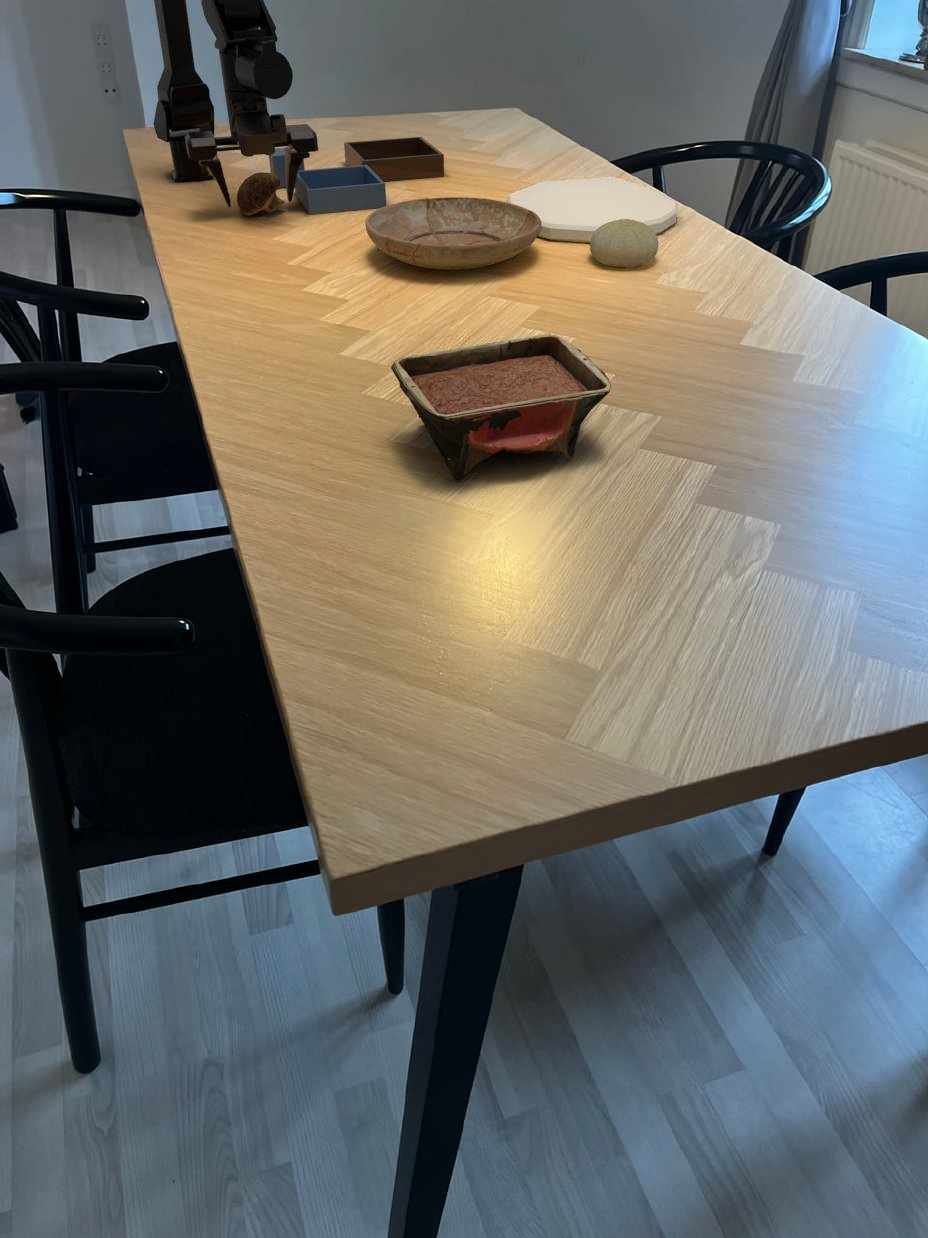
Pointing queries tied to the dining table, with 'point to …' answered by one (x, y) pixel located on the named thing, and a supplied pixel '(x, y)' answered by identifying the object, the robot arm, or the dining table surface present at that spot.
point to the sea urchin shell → (624, 243)
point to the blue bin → (340, 189)
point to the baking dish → (502, 397)
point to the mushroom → (259, 193)
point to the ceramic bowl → (452, 231)
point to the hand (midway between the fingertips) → (259, 203)
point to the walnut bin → (396, 158)
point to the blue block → (280, 165)
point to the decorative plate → (593, 206)
